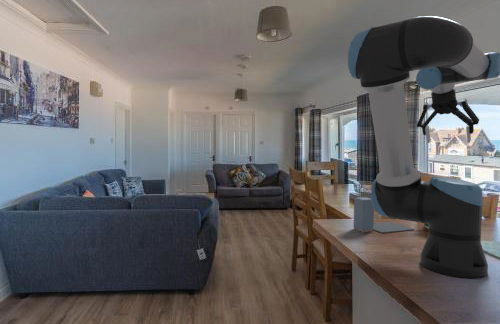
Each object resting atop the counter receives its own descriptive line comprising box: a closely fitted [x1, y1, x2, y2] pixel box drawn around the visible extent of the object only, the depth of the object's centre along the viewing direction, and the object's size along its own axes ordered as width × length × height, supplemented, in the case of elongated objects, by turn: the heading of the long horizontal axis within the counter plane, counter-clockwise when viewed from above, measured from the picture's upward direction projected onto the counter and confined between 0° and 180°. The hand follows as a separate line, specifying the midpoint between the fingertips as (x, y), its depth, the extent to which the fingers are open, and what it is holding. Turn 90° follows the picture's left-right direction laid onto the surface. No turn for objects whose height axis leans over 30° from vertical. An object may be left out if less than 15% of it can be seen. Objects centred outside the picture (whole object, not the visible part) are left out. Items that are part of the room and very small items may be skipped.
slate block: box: [353, 196, 375, 233], centre depth 124 cm, size 5×5×12 cm
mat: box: [373, 221, 415, 234], centre depth 128 cm, size 15×12×1 cm
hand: (448, 141), depth 127 cm, fingers open, 13 cm apart
